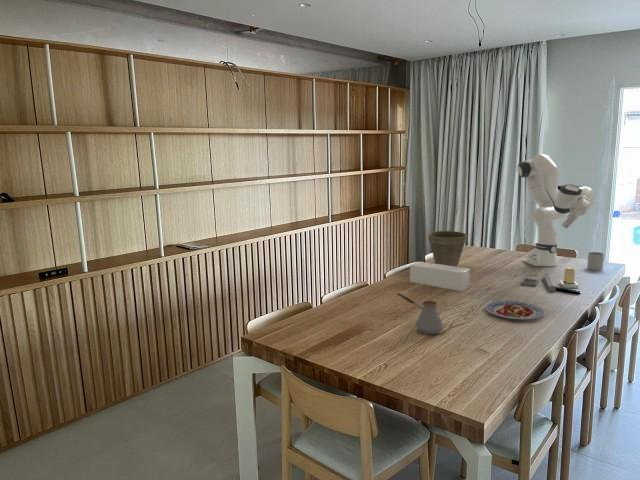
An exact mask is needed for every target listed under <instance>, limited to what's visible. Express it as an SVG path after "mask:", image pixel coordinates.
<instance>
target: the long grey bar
mask: <svg viewBox="0 0 640 480" xmlns="http://www.w3.org/2000/svg"><path fill="white" fill-rule="evenodd" d="M542 277H543V281H544V283H545V286H546V287H547V290H548V292H549V293H550V292H553V293H555V292H556V285H555V283H554V281H553V279H552V276H551V275H550V274H549V273H543V276H542Z"/></svg>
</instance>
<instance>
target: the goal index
mask: <svg viewBox="0 0 640 480" xmlns="http://www.w3.org/2000/svg"><path fill="white" fill-rule="evenodd" d="M520 284H521V286H530V287H537V285H538V284H539V279H533V278H525V277H524V278H523V279H522V280H521V283H520Z"/></svg>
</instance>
